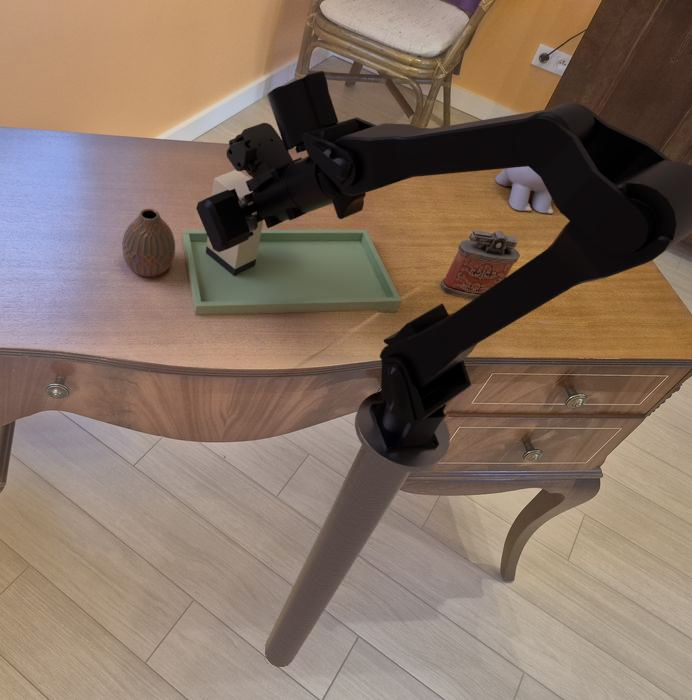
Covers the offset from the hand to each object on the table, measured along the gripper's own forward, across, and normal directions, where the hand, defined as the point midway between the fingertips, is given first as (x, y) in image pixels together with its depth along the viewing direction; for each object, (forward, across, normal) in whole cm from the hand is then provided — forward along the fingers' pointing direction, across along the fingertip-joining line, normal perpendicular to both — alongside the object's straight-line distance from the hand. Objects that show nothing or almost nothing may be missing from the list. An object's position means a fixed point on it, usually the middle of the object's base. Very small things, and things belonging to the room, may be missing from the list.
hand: (229, 217), depth 82 cm
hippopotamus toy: (-8, -57, +18) cm, 60 cm away
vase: (+8, +10, +2) cm, 13 cm away
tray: (-1, -5, +10) cm, 11 cm away
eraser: (+3, 0, +5) cm, 6 cm away
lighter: (-13, -24, +23) cm, 36 cm away
